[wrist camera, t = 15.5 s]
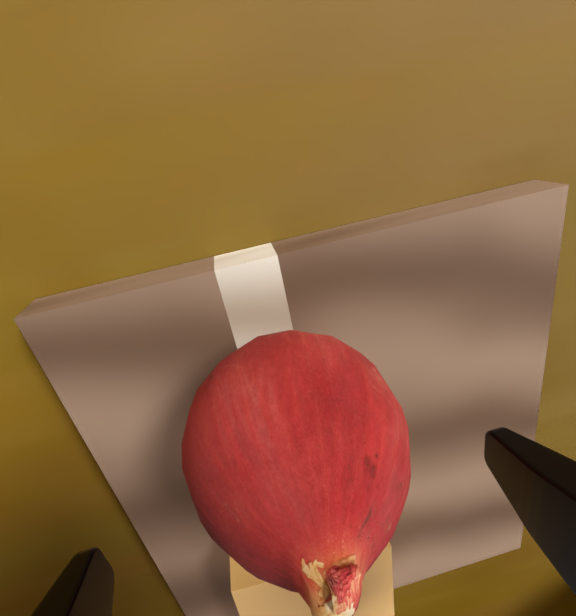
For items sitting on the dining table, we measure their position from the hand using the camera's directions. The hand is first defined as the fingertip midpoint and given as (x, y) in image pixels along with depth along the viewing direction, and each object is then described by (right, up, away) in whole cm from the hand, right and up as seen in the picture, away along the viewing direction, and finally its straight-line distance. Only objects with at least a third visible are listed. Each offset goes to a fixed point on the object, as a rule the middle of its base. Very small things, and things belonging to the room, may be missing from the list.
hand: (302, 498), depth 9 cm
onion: (-1, +2, +5) cm, 6 cm away
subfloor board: (+2, -2, +9) cm, 9 cm away
